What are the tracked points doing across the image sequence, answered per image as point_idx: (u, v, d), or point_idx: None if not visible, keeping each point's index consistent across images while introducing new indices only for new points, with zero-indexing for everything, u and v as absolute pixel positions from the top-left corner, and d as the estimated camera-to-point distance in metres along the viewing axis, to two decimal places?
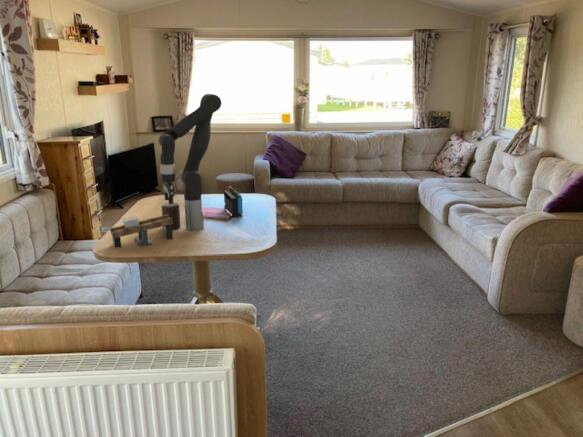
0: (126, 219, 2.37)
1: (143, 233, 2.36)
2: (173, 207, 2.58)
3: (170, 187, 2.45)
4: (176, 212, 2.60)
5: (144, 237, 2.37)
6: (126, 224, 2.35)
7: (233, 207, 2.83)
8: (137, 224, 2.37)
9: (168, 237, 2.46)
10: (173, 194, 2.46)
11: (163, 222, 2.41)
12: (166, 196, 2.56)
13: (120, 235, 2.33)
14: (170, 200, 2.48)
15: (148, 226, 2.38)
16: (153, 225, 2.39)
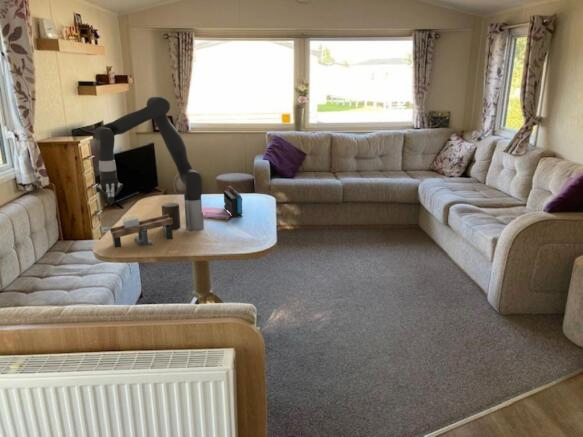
0: (126, 219, 2.37)
1: (143, 233, 2.36)
2: (173, 207, 2.58)
3: None
4: (176, 212, 2.60)
5: (144, 237, 2.37)
6: (126, 224, 2.35)
7: (233, 207, 2.83)
8: (137, 224, 2.37)
9: (168, 237, 2.46)
10: None
11: (163, 222, 2.41)
12: None
13: (120, 235, 2.33)
14: None
15: (148, 226, 2.38)
16: (153, 225, 2.39)
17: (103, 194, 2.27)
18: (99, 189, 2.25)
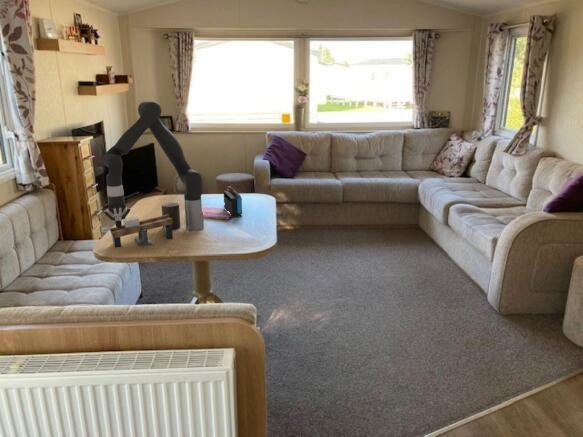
0: (126, 219, 2.37)
1: (143, 233, 2.36)
2: (173, 207, 2.58)
3: None
4: (176, 212, 2.60)
5: (144, 237, 2.37)
6: (126, 224, 2.35)
7: (232, 207, 2.83)
8: (137, 224, 2.37)
9: (168, 237, 2.46)
10: None
11: (163, 222, 2.41)
12: None
13: (120, 235, 2.33)
14: (121, 223, 2.35)
15: (148, 226, 2.38)
16: (153, 225, 2.39)
17: (111, 218, 2.31)
18: (107, 213, 2.30)
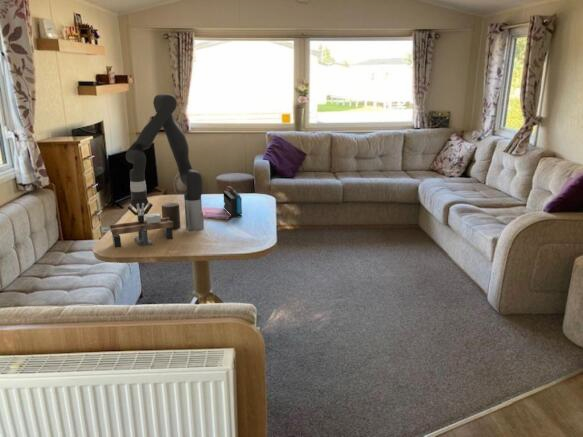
0: (148, 215, 2.41)
1: (143, 233, 2.36)
2: (173, 207, 2.58)
3: None
4: (176, 212, 2.60)
5: (144, 237, 2.37)
6: (148, 219, 2.39)
7: (232, 207, 2.83)
8: (159, 221, 2.42)
9: (168, 237, 2.46)
10: None
11: (164, 224, 2.42)
12: None
13: (120, 232, 2.32)
14: (143, 218, 2.40)
15: (148, 227, 2.38)
16: (153, 226, 2.40)
17: (134, 213, 2.36)
18: (130, 208, 2.35)
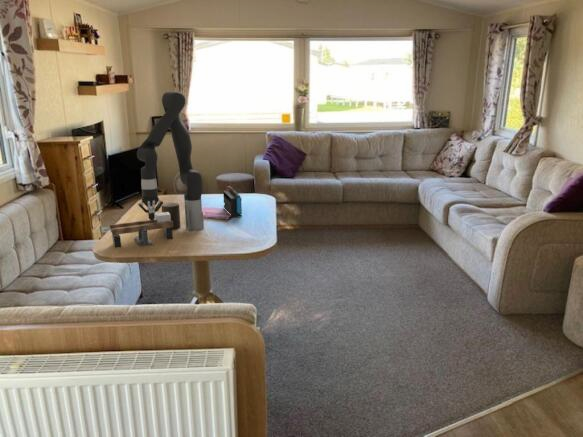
0: (159, 214, 2.44)
1: (143, 233, 2.36)
2: (173, 207, 2.58)
3: None
4: (176, 212, 2.60)
5: (144, 237, 2.37)
6: (158, 218, 2.41)
7: (232, 207, 2.83)
8: (169, 220, 2.44)
9: (168, 237, 2.46)
10: None
11: (164, 224, 2.42)
12: None
13: (120, 232, 2.32)
14: (154, 215, 2.42)
15: (148, 227, 2.38)
16: (153, 226, 2.40)
17: None
18: (141, 206, 2.37)
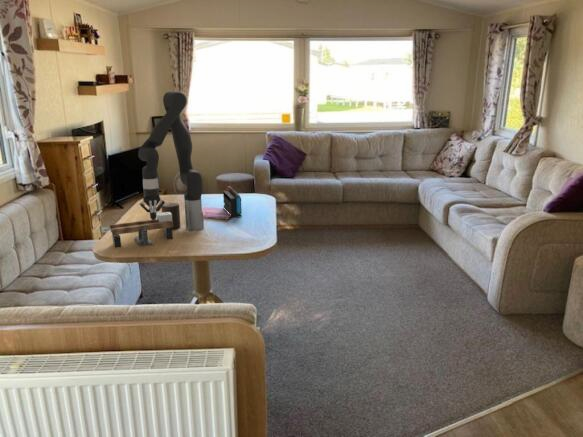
0: (160, 213, 2.44)
1: (143, 233, 2.36)
2: (173, 207, 2.58)
3: None
4: (176, 212, 2.60)
5: (144, 237, 2.37)
6: (160, 218, 2.42)
7: (232, 207, 2.83)
8: (170, 219, 2.44)
9: (168, 237, 2.46)
10: None
11: (164, 224, 2.42)
12: None
13: (120, 232, 2.32)
14: None
15: (148, 227, 2.38)
16: (153, 226, 2.40)
17: (146, 210, 2.39)
18: (143, 206, 2.37)
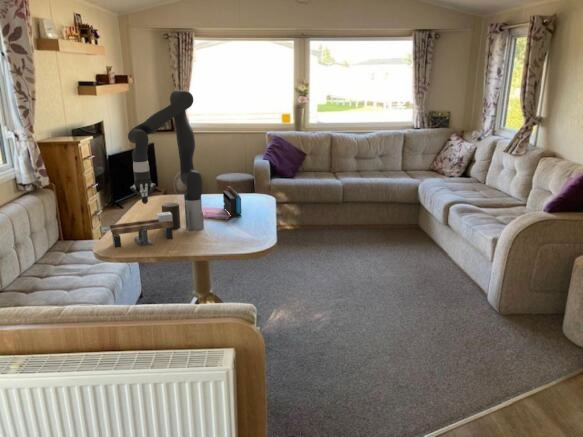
0: (160, 213, 2.44)
1: (143, 233, 2.36)
2: (173, 207, 2.58)
3: None
4: (176, 212, 2.60)
5: (144, 237, 2.37)
6: (160, 218, 2.42)
7: (232, 207, 2.83)
8: (170, 219, 2.44)
9: (168, 237, 2.46)
10: None
11: (164, 224, 2.42)
12: None
13: (120, 232, 2.32)
14: (147, 199, 2.38)
15: (148, 227, 2.38)
16: (153, 226, 2.40)
17: (137, 194, 2.34)
18: (133, 189, 2.33)
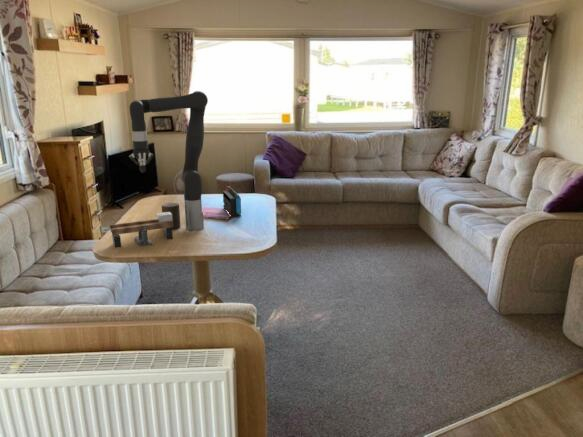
0: (160, 213, 2.44)
1: (143, 233, 2.36)
2: (173, 207, 2.58)
3: None
4: (176, 212, 2.60)
5: (144, 237, 2.37)
6: (160, 218, 2.42)
7: (231, 207, 2.83)
8: (170, 219, 2.44)
9: (168, 237, 2.46)
10: None
11: (164, 224, 2.42)
12: None
13: (120, 232, 2.32)
14: (145, 168, 2.50)
15: (148, 227, 2.38)
16: (153, 226, 2.40)
17: (136, 162, 2.47)
18: (132, 158, 2.45)
